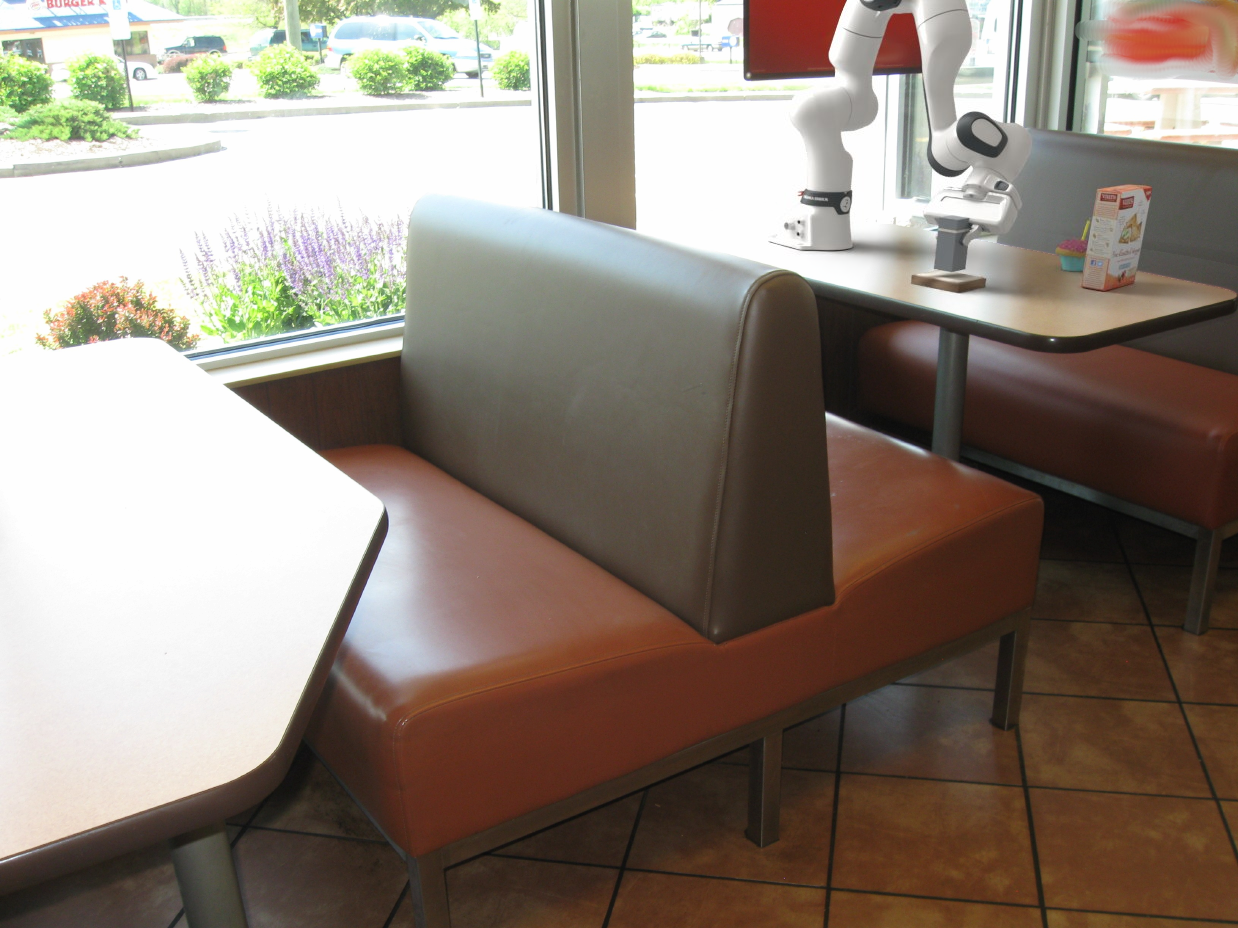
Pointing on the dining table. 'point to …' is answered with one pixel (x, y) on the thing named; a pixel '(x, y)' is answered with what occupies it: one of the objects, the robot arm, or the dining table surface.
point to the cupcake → (1073, 252)
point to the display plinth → (948, 281)
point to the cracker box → (1116, 236)
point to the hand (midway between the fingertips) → (950, 242)
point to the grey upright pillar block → (951, 243)
